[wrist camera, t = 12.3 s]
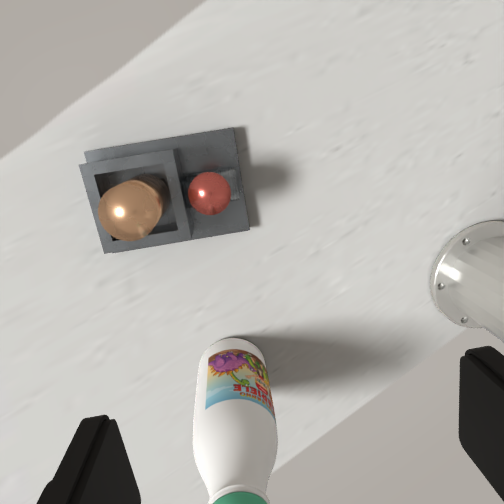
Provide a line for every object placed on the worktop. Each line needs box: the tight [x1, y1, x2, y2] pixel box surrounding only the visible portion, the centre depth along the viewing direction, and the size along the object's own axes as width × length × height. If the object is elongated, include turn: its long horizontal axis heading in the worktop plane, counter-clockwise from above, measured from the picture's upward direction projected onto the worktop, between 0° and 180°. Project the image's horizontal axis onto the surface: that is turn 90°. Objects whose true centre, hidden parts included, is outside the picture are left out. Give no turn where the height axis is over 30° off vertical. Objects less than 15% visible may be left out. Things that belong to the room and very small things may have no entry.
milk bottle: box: [193, 338, 278, 504], centre depth 35 cm, size 8×8×20 cm
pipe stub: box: [98, 174, 170, 241], centre depth 33 cm, size 4×4×8 cm
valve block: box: [79, 128, 250, 254], centre depth 35 cm, size 14×10×6 cm
